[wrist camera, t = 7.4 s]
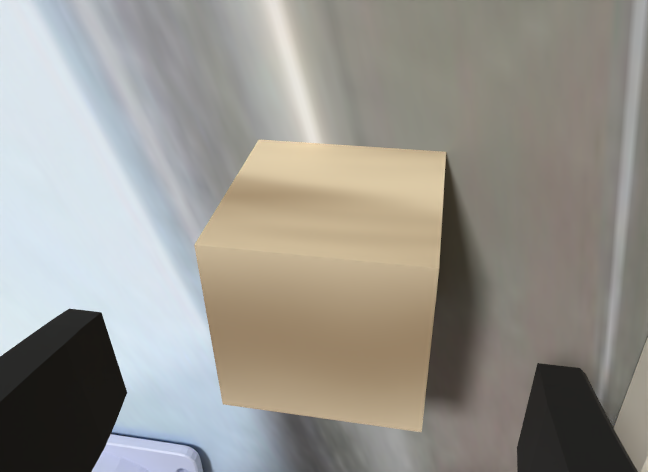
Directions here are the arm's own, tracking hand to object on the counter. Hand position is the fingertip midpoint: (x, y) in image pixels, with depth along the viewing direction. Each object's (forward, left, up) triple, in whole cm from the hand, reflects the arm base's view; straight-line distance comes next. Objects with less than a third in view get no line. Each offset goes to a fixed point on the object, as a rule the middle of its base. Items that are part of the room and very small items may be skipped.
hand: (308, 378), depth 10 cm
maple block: (0, 0, -5) cm, 5 cm away
